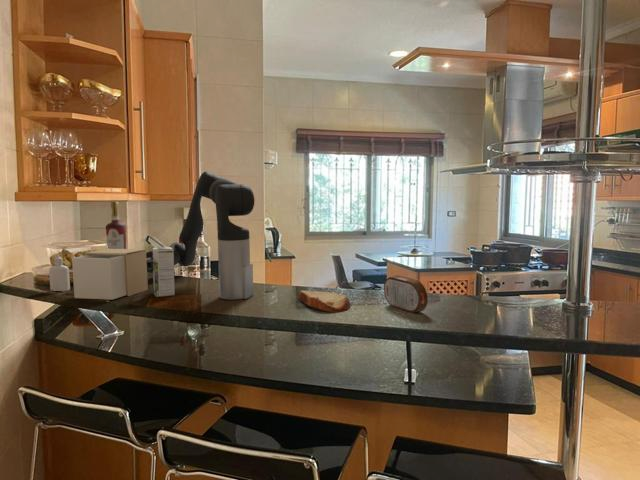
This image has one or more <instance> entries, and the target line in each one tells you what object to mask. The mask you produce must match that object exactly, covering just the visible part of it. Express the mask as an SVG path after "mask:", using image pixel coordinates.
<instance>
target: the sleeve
mask: <svg viewBox="0 0 640 480" xmlns="http://www.w3.org/2000/svg"><path fill="white" fill-rule="evenodd" d="M146 253H147V249H144V248H143V249H142V248H141V249H140V248H138V249H137V248H126V249H108V248H104V249H96V250H92V251H86V252H84V256H86V255H91V254H102V255H125V262H126V281H127V295H126V296H127V297H130V296H133V295H136V294H139V293H142V292H145V291H148V290H149V284H148V271H147V260H146Z"/></svg>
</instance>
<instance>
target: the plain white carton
mask: <svg viewBox="0 0 640 480" xmlns="http://www.w3.org/2000/svg"><path fill="white" fill-rule="evenodd" d="M71 263H72V264H71V265H72V279H73V280H72V282H73V295H74V299H89V300H111V301H112V300H115V299H119V298H122V297H124V296H127V281H126V262H125V255H102V254H91V255H86V256H85V255H80V256H75V257H72V258H71Z"/></svg>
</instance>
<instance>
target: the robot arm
mask: <svg viewBox="0 0 640 480" xmlns="http://www.w3.org/2000/svg"><path fill="white" fill-rule="evenodd" d="M202 197H203V198H207V199H209V200H211V201H212V202H213V203H214V204H215V211H216V225H217V226H216V227H217V228H216V229H217V255H218V257H217V258H218V260H217V261H218V284H219V287H218V288H219V289H218V291H219V298H220V299H223V300H232V301H233V300H247V299H248V298H250V297H252V296H253V295H254V268H253V266H254V265H253V263H251V250H250V249H251V246H250V230H249V229H248V228H247V227H242V226H239V225H237V224H235V223H233V222H232V221H230V218H229V217H239V216H240V217H241V216H249V214H251V213H252V212H253V209H254V207H255V194H254V192H253V190H252V189H251V187H250V186H249V185H248V184H240V183H236V182H234V181H232V180H230V179H227V178H225V177H223V176H220V175H217V174H215V173H212V172H209V171H203V172H202V173H201V174H200V176H199V178H198V180H197V183H196V186H195V189H194V192H193V195H192V197H191V203H190V206H189V209H188V213H187V216H186V220H185V221H184V224H183V226H182V228H181V229H182V230H181V231H180V234H179V240H180V242H178V241H177V242H176V241H175V242H173V243H171V245H169V247H171V248H172V249H173V253H174V266H176V265H177V264H179V265H180V266H182V267H184V268H185V267H189V266H191V265H192V264H193V263H194V261H195V258H196V255H197V254H196V253H197V245H198V240H199V238H200V236H201V234H202V231H203V228H204V217H203V214H202V210H201V209H202V208H201V201H202ZM146 260H147V273H148V272H149V273H153V250H150V251H146Z"/></svg>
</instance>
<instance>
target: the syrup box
mask: <svg viewBox="0 0 640 480" xmlns="http://www.w3.org/2000/svg"><path fill="white" fill-rule="evenodd" d="M152 251H153V272H152V277H153V278H152V279H153V281H152V282H153V283H152V284H153V294H154V296H155V297H156V298H158V297H159V298H162V297H169V296H175V294H176V292H175V289H176V288H175V265H174V253H173V249H172V248H171V247H170V246H157V247H152Z"/></svg>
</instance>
